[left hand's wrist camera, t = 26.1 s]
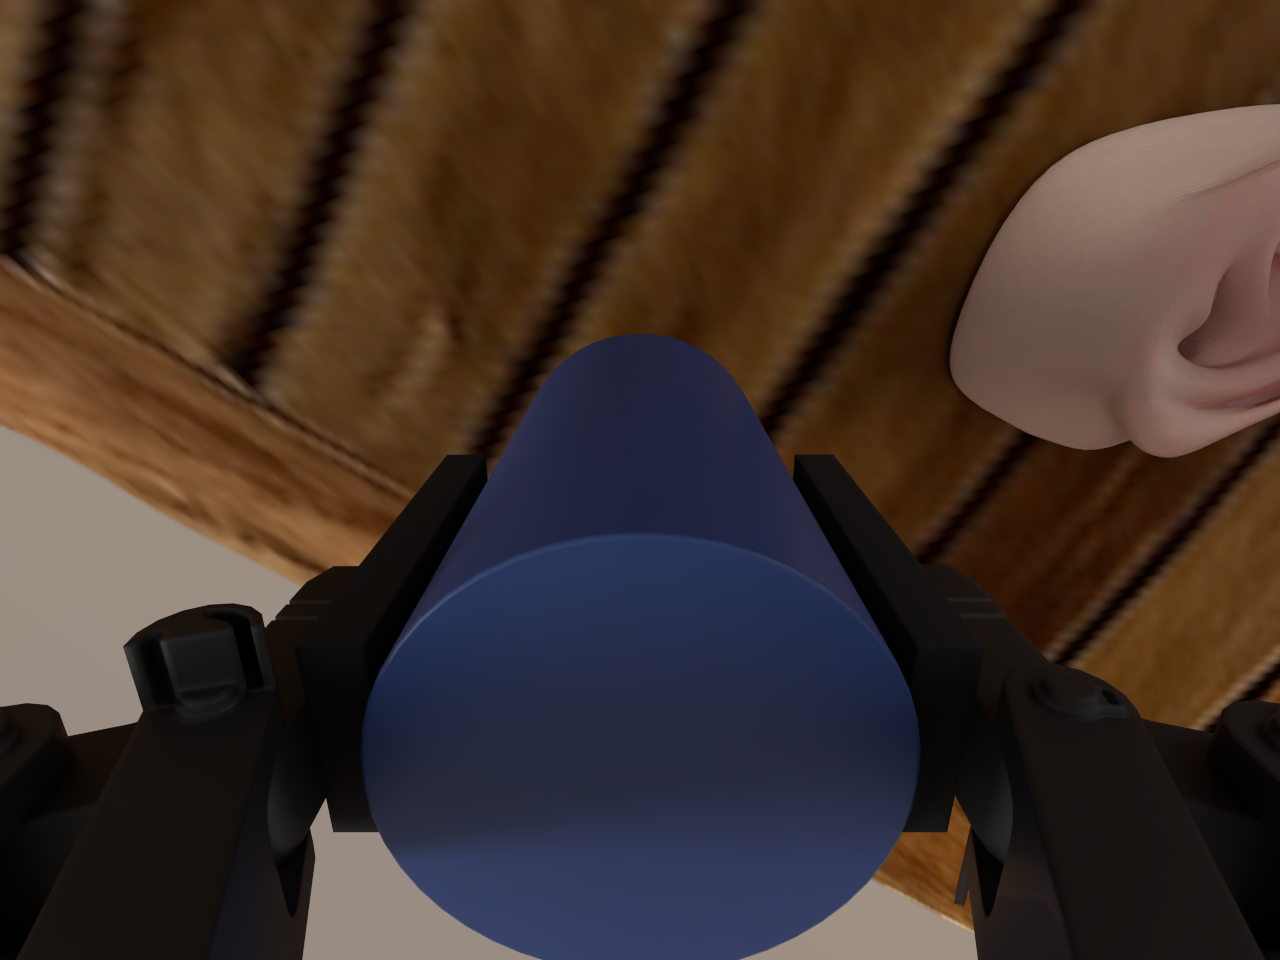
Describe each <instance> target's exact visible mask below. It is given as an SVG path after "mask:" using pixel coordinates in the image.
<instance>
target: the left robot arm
mask: <svg viewBox="0 0 1280 960" xmlns="http://www.w3.org/2000/svg"><path fill="white" fill-rule="evenodd" d="M487 481H488V479H487V467H486V455H447V456H446V457H445V458H444V460H443V461H442V462H441V463H440V465H439V466H438V467H437V468H436V470H435V471H434V472H433V473H432V475H431V476H430V477H429V478H428V480H427V481H426V482H425V483H424V485H423V486H422V487H421V488H420V490H419V491H418V492H417V494H416V495H415V496H414V497H413V499H412V500H411V501H410V502H409V504H408V505H407V506H406V507H405V509H404V510H403V511H402V512H401V514H400V515H399V516H398V517H397V519H396V520H395V521H394V522H393V524H392V525H391V526H390V527H389V529H388V530H387V531H386V533H385V534H384V535H383V536H382V538H381V539H380V540H379V541H378V543H377V544H376V545H375V546H374V548H373V549H372V550H371V551H370V553H369V554H368V555H367V556H366V558H365V559H364V560H363V561H362V563H361V564H360V565H359V566H333V567H332V568H330V569H328V570H327V571H325V572H323V573H321V574H320V575H318V576H316V577H315V578H313V579H311V580H309V581H308V582H306V583H305V584H304V586H303V587H302V588H301V589H300V590H299V591H298V592H297V593H296V594H295V595H294V597H293V598H292V599H291V600H290V604H289V605H285V607H284V608H283V609H282V610H281V611H280V612H279V613H278V614H277V615H276V619H275V620H272V621H271V622H270V623H269V624H268V625H267V627H266V628H265V626H264V622H263V618H262V614H261V613H260V612H258V611H257V610H255V609H254V608H252V607H250V606H245V605H239V604H233V603H232V604H215V605H206V606H202V607H198V608H193V609H188V610H184V611H181V612H178V613H176V614H173V615H171V616H168V617H165V618H163V619H160V620H158V621H156V622H154V623H152V624H151V625H149V626H147V627H146V628H144V629H142V630H141V631H139V632H137V633H136V634H135V635H134V636H133V637H132V638H131V639H130V640H129V641H128V642H127V643H126V644H125V645H124V646H123V648H124V651H125V654H126V657H127V660H128V664H129V667H130V670H131V673H132V676H133V680H134V683H135V686H136V689H137V692H138V696H139V699H140V702H141V705H142V708H143V712H142V714H141V716H140V718H139V720H138V722H136V723H132V724H128V725H123V726H118V727H113V728H108V729H103V730H98V731H93V732H88V733H83V734H78V735H73V736H68V735H67V733H66V730H65V727H64V725H63V722H62V719H61V716H60V714H59V712H57V711H56V710H54V709H53V708H51V707H50V706H48V705H41V704H30V703H25V704H19V705H12V706H5V707H0V960H302V957H303V949H304V941H305V933H306V926H307V918H308V910H309V903H310V895H311V887H312V879H313V872H314V864H315V852H314V845H313V840H312V836H311V831H310V827H311V825H312V823H313V821H314V819H315V817H316V815H317V814H318V812H319V810H320V808H321V806H322V804H323V802H324V801H325V799H327V804H328V809H329V813H330V818H331V823H332V828H333V832H379V830H378V828H377V826H376V824H375V822H374V820H373V818H372V815H371V811H370V808H369V804H368V801H367V798H366V794H365V791H364V784H363V776H362V768H361V759H360V757H361V734H362V725H363V721H364V716H365V711H366V707H367V702H368V698H369V696H370V693H371V691H372V688H373V686H374V683H375V681H376V678H377V676H378V673H379V671H380V669H381V667H382V666H383V664H384V662H385V660H386V659H387V657H388V655H389V653H390V652H391V650H392V648H393V646H394V644H395V643H396V641H397V639H398V637H399V636H400V634H401V632H402V630H403V629H404V627H405V625H406V623H407V622H408V620H409V618H410V616H411V615H412V613H413V611H414V609H415V608H416V606H417V604H418V602H419V601H420V599H421V597H422V595H423V594H424V592H425V590H426V588H427V587H428V585H429V583H430V581H431V579H432V578H433V576H434V574H435V572H436V571H437V569H438V567H439V565H440V564H441V562H442V560H443V558H444V557H445V555H446V553H447V551H448V550H449V548H450V546H451V544H452V543H453V541H454V539H455V537H456V536H457V534H458V532H459V530H460V529H461V527H462V525H463V523H464V522H465V520H466V518H467V516H468V515H469V513H470V511H471V509H472V507H473V506H474V504H475V502H476V500H477V499H478V497H479V495H480V493H481V492H482V490H483V488H484V486H485V485H486V483H487ZM793 481H794V483H795V484H796V486H797V488H798V490H799V491H800V493H801V495H802V497H803V498H804V500H805V502H806V504H807V505H808V507H809V509H810V511H811V512H812V514H813V516H814V518H815V519H816V521H817V523H818V525H819V526H820V528H821V530H822V532H823V533H824V535H825V537H826V539H827V541H828V542H829V544H830V546H831V548H832V549H833V551H834V553H835V555H836V556H837V558H838V560H839V562H840V563H841V565H842V567H843V569H844V570H845V572H846V574H847V576H848V577H849V579H850V581H851V583H852V584H853V586H854V588H855V590H856V591H857V593H858V595H859V597H860V598H861V600H862V602H863V604H864V605H865V607H866V609H867V611H868V612H869V614H870V616H871V618H872V619H873V621H874V623H875V625H876V627H877V628H878V630H879V632H880V634H881V635H882V637H883V639H884V641H885V642H886V644H887V646H888V648H889V649H890V651H891V653H892V655H893V656H894V658H895V660H896V662H897V664H898V666H899V668H900V670H901V672H902V675H903V677H904V679H905V681H906V683H907V685H908V688H909V690H910V693H911V696H912V700H913V704H914V707H915V711H916V715H917V719H918V726H919V737H920V747H921V753H920V767H919V780H918V785H917V789H916V793H915V798H914V802H913V806H912V810H911V812H910V814H909V817H908V819H907V822H906V824H905V826H904V829H903V831H902V832H947V830H948V826H949V821H950V816H951V811H952V807H953V802H954V797H955V796H956V798H957V800H958V802H959V803H960V805H961V807H962V809H963V811H964V813H965V815H966V816H967V818H968V820H969V822H970V824H971V826H970V831H969V835H968V840H967V844H966V849H965V853H964V858H963V862H962V866H961V871H960V875H959V880H958V884H957V889H956V896H955V904H959V905H963V906H964V905H965V901H966V897H967V892H968V890H969V893H970V901H971V909H972V916H973V924H974V932H975V939H976V947H977V955H978V960H1280V704H1278V703H1271V702H1264V701H1258V700H1250V701H1239V702H1233V703H1232V704H1230V705H1229V706H1227V707H1226V708H1224V709H1223V710H1222V713H1221V716H1220V718H1219V721H1218V724H1217V726H1216V729H1215V732H1214V733H1209V732H1204V731H1199V730H1194V729H1189V728H1184V727H1179V726H1174V725H1169V724H1164V723H1159V722H1154V721H1149V720H1146V719H1142V718H1141V717H1140V715H1139V713H1138V711H1137V709H1136V708H1135V707H1134V706H1133V704H1132V703H1131V702H1130V701H1129V700H1128V698H1127V697H1126V696H1125V695H1124V694H1123V693H1121V692H1120V691H1118V690H1117V689H1115V688H1114V687H1113V686H1111V685H1110V684H1108V683H1107V682H1105V681H1104V680H1101V679H1099V678H1097V677H1095V676H1092V675H1090V674H1088V673H1086V672H1083V671H1081V670H1078V669H1074V668H1070V667H1066V666H1062V665H1058V664H1052V663H1050V662H1049V661H1048V660H1047V659H1046V658H1045V657H1044V656H1043V655H1042V654H1041V652H1040V651H1039V650H1038V649H1037V648H1036V647H1035V646H1034V645H1033V644H1032V643H1031V641H1030V640H1029V639H1028V638H1027V637H1026V636H1025V635H1024V634H1023V633H1022V632H1021V630H1020V629H1019V628H1018V627H1017V626H1016V625H1015V624H1014V623H1013V622H1012V621H1011V619H1010V618H1006V616H1005V613H1004V612H1003V611H1002V610H1001V608H1000V607H999V606H998V605H997V604H996V603H995V602H992V601H991V597H990V596H989V595H988V594H987V593H986V592H985V591H984V590H983V589H982V588H981V586H980V585H979V584H978V583H977V582H976V581H975V580H974V579H972V578H970V577H969V576H967V575H965V574H964V573H962V572H960V571H958V570H957V569H955V568H953V567H951V566H950V565H948V564H920V563H919V562H918V561H917V560H916V558H915V557H914V556H913V555H912V553H911V552H910V551H909V550H908V548H907V547H906V546H905V544H904V543H903V542H902V541H901V539H900V538H899V537H898V536H897V534H896V533H895V532H894V531H893V529H892V528H891V527H890V526H889V524H888V523H887V522H886V521H885V519H884V518H883V517H882V516H881V514H880V513H879V512H878V511H877V509H876V508H875V507H874V505H873V504H872V503H871V502H870V500H869V499H868V498H867V497H866V495H865V494H864V493H863V492H862V490H861V489H860V488H859V487H858V485H857V484H856V483H855V482H854V480H853V479H852V478H851V477H850V475H849V474H848V473H847V472H846V470H845V469H844V468H843V467H842V465H841V464H840V463H839V461H838V460H837V459H836V458H835V456H834V455H795V461H794V473H793Z"/></svg>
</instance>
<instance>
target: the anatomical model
mask: <svg viewBox="0 0 1280 960" xmlns="http://www.w3.org/2000/svg"><path fill="white" fill-rule="evenodd" d="M950 370H951V374H952V377H953V379H954V382H955V384H956V385H957V386H958V388H959V389H960V390H961V391H962V392H963V393H964V394H965V395H966V396H967V397H968V398H969V399H971V400H972V401H973V402H975V403H976V404H977V405H979V406H980V407H981V408H983V409H985V410H986V411H988V412H990V413H992V414H994V415H995V416H997V417H999V418H1001V419H1002V420H1004V421H1006V422H1008V423H1010V424H1011V425H1013V426H1015V427H1017V428H1019V429H1021V430H1023V431H1025V432H1027V433H1029V434H1031V435H1034V436H1037V437H1040V438H1042V439H1045V440H1048V441H1051V442H1054V443H1057V444H1060V445H1064V446H1067V447H1071V448H1076V449H1083V450H1093V449H1101V448H1106V447H1111V446H1114V445H1117V444H1120V443H1123V442H1126V441H1128V440H1131V441H1132V442H1133V443H1134V444H1135V445H1136V446H1137V447H1139V448H1140V449H1141V450H1143V451H1145V452H1147V453H1149V454H1152V455H1155V456H1159V457H1177V456H1181V455H1185V454H1188V453H1190V452H1193V451H1196V450H1199V449H1201V448H1203V447H1205V446H1207V445H1209V444H1211V443H1214V442H1216V441H1218V440H1220V439H1222V438H1224V437H1226V436H1228V435H1231V434H1233V433H1235V432H1237V431H1239V430H1241V429H1244V428H1246V427H1248V426H1250V425H1252V424H1255V423H1257V422H1259V421H1261V420H1263V419H1266V418H1268V417H1270V416H1272V415H1274V414H1277V413H1279V412H1280V104H1272V105H1258V106H1248V107H1238V108H1231V109H1224V110H1217V111H1211V112H1204V113H1198V114H1193V115H1187V116H1182V117H1176V118H1171V119H1166V120H1162V121H1157V122H1153V123H1149V124H1144V125H1140V126H1137V127H1134V128H1130V129H1127V130H1124V131H1120V132H1117V133H1114V134H1110V135H1108V136H1105V137H1103V138H1100V139H1098V140H1095V141H1092V142H1090V143H1088V144H1086V145H1084V146H1082V147H1080V148H1078V149H1077V150H1075V151H1073V152H1071V153H1070V154H1068V155H1066V156H1065V157H1063V158H1062V159H1061V160H1059V161H1058V162H1057V163H1056V164H1054V165H1053V166H1052V167H1050V168H1049V169H1048V170H1047V171H1046V172H1045V173H1044V174H1043V175H1042V176H1041V177H1040V178H1039V179H1038V180H1037V181H1036V182H1035V183H1034V184H1033V185H1032V186H1031V187H1030V188H1029V190H1028V191H1027V192H1026V193H1025V194H1024V196H1023V197H1022V198H1021V199H1020V201H1019V202H1018V204H1017V205H1016V206H1015V208H1014V209H1013V211H1012V212H1011V213H1010V215H1009V216H1008V218H1007V219H1006V221H1005V222H1004V223H1003V225H1002V227H1001V229H1000V230H999V232H998V234H997V236H996V237H995V239H994V241H993V242H992V244H991V246H990V248H989V249H988V251H987V253H986V256H985V258H984V260H983V262H982V264H981V266H980V268H979V270H978V272H977V274H976V276H975V279H974V281H973V283H972V286H971V288H970V290H969V293H968V295H967V298H966V300H965V303H964V305H963V308H962V310H961V313H960V316H959V319H958V322H957V325H956V329H955V332H954V335H953V340H952V344H951V350H950Z"/></svg>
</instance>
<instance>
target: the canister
mask: <svg viewBox="0 0 1280 960" xmlns="http://www.w3.org/2000/svg"><path fill="white" fill-rule="evenodd" d="M920 753H921V747H920V737H919V726H918V719H917V715H916V711H915V707H914V704H913V700H912V696H911V693H910V690H909V688H908V685H907V683H906V681H905V679H904V677H903V675H902V672H901V670H900V668H899V666H898V664H897V662H896V660H895V658H894V656H893V655H892V653H891V651H890V649H889V648H888V646H887V644H886V642H885V641H884V639H883V637H882V635H881V634H880V632H879V630H878V628H877V627H876V625H875V623H874V621H873V619H872V618H871V616H870V614H869V612H868V611H867V609H866V607H865V605H864V604H863V602H862V600H861V598H860V597H859V595H858V593H857V591H856V590H855V588H854V586H853V584H852V583H851V581H850V579H849V577H848V576H847V574H846V572H845V570H844V569H843V567H842V565H841V563H840V562H839V560H838V558H837V556H836V555H835V553H834V551H833V549H832V548H831V546H830V544H829V542H828V541H827V539H826V537H825V535H824V533H823V532H822V530H821V528H820V526H819V525H818V523H817V521H816V519H815V518H814V516H813V514H812V512H811V511H810V509H809V507H808V505H807V504H806V502H805V500H804V498H803V497H802V495H801V493H800V491H799V490H798V488H797V486H796V484H795V483H794V481H793V479H792V477H791V476H790V474H789V472H788V470H787V469H786V467H785V465H784V463H783V462H782V460H781V458H780V456H779V455H778V453H777V451H776V449H775V447H774V446H773V444H772V442H771V440H770V439H769V437H768V435H767V433H766V432H765V430H764V428H763V426H762V425H761V423H760V421H759V419H758V418H757V416H756V414H755V412H754V411H753V409H752V407H751V405H750V404H749V402H748V400H747V398H746V397H745V395H744V393H743V391H742V390H741V388H740V387H739V385H738V384H737V382H736V381H735V379H734V378H733V377H732V376H731V375H730V374H729V372H728V371H727V370H726V369H725V368H724V367H723V366H722V365H721V364H719V363H718V362H717V361H716V360H715V359H714V358H713V357H711V356H709V355H708V354H706V353H705V352H703V351H702V350H700V349H698V348H696V347H694V346H692V345H690V344H688V343H686V342H683V341H680V340H677V339H674V338H671V337H666V336H660V335H654V334H629V335H620V336H616V337H611V338H607V339H604V340H601V341H598V342H596V343H593V344H591V345H589V346H587V347H585V348H583V349H581V350H579V351H577V352H576V353H574V354H573V355H572V356H570V357H569V358H567V359H566V360H565V361H564V362H563V363H561V364H560V365H559V366H558V367H557V368H556V369H555V370H554V371H553V372H552V373H551V375H550V376H549V377H548V378H547V380H546V381H545V382H544V383H543V385H542V387H541V388H540V390H539V392H538V393H537V395H536V397H535V399H534V400H533V402H532V404H531V406H530V407H529V409H528V411H527V413H526V414H525V416H524V418H523V420H522V421H521V423H520V425H519V427H518V428H517V430H516V432H515V434H514V435H513V437H512V439H511V441H510V442H509V444H508V446H507V448H506V450H505V451H504V453H503V455H502V457H501V458H500V460H499V462H498V464H497V465H496V467H495V469H494V471H493V472H492V474H491V476H490V478H489V479H488V481H487V483H486V485H485V486H484V488H483V490H482V492H481V493H480V495H479V497H478V499H477V500H476V502H475V504H474V506H473V507H472V509H471V511H470V513H469V515H468V516H467V518H466V520H465V522H464V523H463V525H462V527H461V529H460V530H459V532H458V534H457V536H456V537H455V539H454V541H453V543H452V544H451V546H450V548H449V550H448V551H447V553H446V555H445V557H444V558H443V560H442V562H441V564H440V565H439V567H438V569H437V571H436V572H435V574H434V576H433V578H432V579H431V581H430V583H429V585H428V587H427V588H426V590H425V592H424V594H423V595H422V597H421V599H420V601H419V602H418V604H417V606H416V608H415V609H414V611H413V613H412V615H411V616H410V618H409V620H408V622H407V623H406V625H405V627H404V629H403V630H402V632H401V634H400V636H399V637H398V639H397V641H396V643H395V644H394V646H393V648H392V650H391V652H390V653H389V655H388V657H387V659H386V660H385V662H384V664H383V666H382V667H381V669H380V671H379V673H378V676H377V678H376V681H375V683H374V686H373V688H372V691H371V693H370V696H369V698H368V702H367V707H366V711H365V716H364V721H363V725H362V734H361V757H360V759H361V768H362V776H363V784H364V791H365V794H366V798H367V801H368V804H369V808H370V811H371V815H372V818H373V820H374V822H375V824H376V826H377V828H378V830H379V833H380V835H381V837H382V839H383V841H384V843H385V845H386V846H387V848H388V849H389V851H390V852H391V854H392V855H393V857H394V858H395V860H396V861H397V863H398V864H399V866H400V867H401V868H402V870H403V871H404V872H405V873H406V874H407V875H408V876H409V878H410V879H411V880H412V881H413V882H414V883H415V885H416V886H417V887H418V888H419V889H420V890H421V891H422V892H423V893H424V894H426V895H427V896H428V897H429V898H430V899H431V900H432V901H433V902H435V903H436V904H437V905H438V906H439V907H440V908H441V909H443V910H444V911H445V912H447V913H448V914H450V915H451V916H453V917H454V918H455V919H457V920H458V921H460V922H461V923H462V924H464V925H465V926H467V927H469V928H470V929H472V930H474V931H476V932H478V933H480V934H481V935H483V936H485V937H487V938H489V939H490V940H492V941H494V942H497V943H499V944H501V945H504V946H506V947H508V948H511V949H513V950H515V951H518V952H520V953H523V954H526V955H530V956H532V957H536V958H539V959H542V960H740V959H743V958H746V957H749V956H752V955H755V954H758V953H760V952H763V951H766V950H769V949H771V948H773V947H775V946H778V945H780V944H782V943H784V942H786V941H788V940H791V939H793V938H795V937H797V936H798V935H800V934H802V933H804V932H805V931H807V930H809V929H810V928H812V927H814V926H815V925H817V924H819V923H820V922H822V921H824V920H825V919H826V918H827V917H829V916H830V915H831V914H833V913H834V912H835V911H837V910H838V909H839V908H841V907H842V906H843V905H845V904H846V903H847V902H848V901H849V900H850V899H851V898H852V897H853V896H854V895H855V894H857V893H858V892H859V891H860V890H861V889H862V888H863V887H864V886H865V885H866V884H867V883H868V882H869V881H870V879H871V878H872V877H873V876H874V874H875V873H876V872H877V871H878V869H879V868H880V867H881V866H882V864H883V863H884V862H885V861H886V859H887V858H888V856H889V854H890V853H891V851H892V849H893V848H894V846H895V844H896V843H897V841H898V839H899V838H900V836H901V834H902V831H903V829H904V826H905V824H906V822H907V819H908V817H909V814H910V812H911V810H912V806H913V802H914V798H915V793H916V789H917V785H918V780H919V767H920Z"/></svg>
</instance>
